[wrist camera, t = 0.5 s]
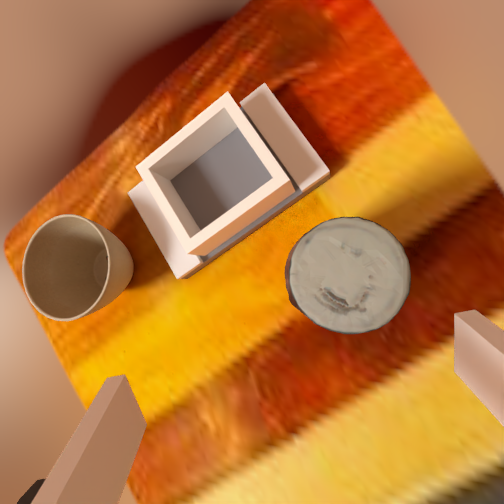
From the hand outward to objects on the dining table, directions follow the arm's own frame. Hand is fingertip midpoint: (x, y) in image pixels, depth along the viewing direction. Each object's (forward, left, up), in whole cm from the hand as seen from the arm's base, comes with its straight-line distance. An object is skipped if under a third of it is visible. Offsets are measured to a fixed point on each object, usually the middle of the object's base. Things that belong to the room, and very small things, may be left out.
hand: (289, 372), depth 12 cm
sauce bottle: (+2, -3, -18) cm, 19 cm away
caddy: (+15, +1, -18) cm, 24 cm away
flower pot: (+16, +17, -18) cm, 29 cm away
